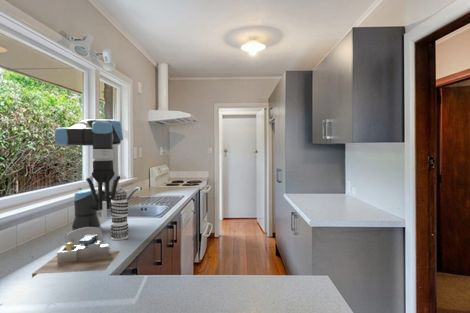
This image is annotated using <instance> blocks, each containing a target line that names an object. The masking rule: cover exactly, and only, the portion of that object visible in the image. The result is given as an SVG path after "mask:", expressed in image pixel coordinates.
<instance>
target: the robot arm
mask: <svg viewBox="0 0 470 313" xmlns="http://www.w3.org/2000/svg"><path fill="white" fill-rule="evenodd" d="M53 137H54V143H55V145H57V146H64V147H66V146H67V147H68V146H70V147H71V146H73V147H75V146H77V147H78V146H85V147H86V146H90V147H91V146H92V160H93V161H92V172H91V175H90V176H87V177H86V178H85V181H86V182H87V183H88V187H89V188H88V189H82V190H78V191H77V192H75V193H74V196H73V197H74V199H73V202H74V205H73V206H74V219H73V222H72V224H71V232H72V231H74V230H76V229H80V228H85V227H98V228H100V229H102V228H101V227H102V226H101V222H100V219H99V217H98V211H99V212H101V218H102V219H107V218H108V211H110V210H111V209H110V207H111V206H110V202H111V200H112V199H114V196H115V192H116V191H117V190H124V188H122V186H121V184H120V179H121V176H120V175H119V170H120V169H119V145H121V144H122V143H121V141H124V135H123V128H122V122H121V121H120V120H117V119H104V118H103V119H102V118H101V119H99V118H96V119H93V118H92V119H91V118H90V119H84V120H80V121H76V122H75V123H73V124H72V125H71V126H70V127H64V126H63V127H57V128H55V130H54V136H53ZM94 180H95V181H96V182H97V188H96V187H95V186H94V182H93V181H94Z"/></svg>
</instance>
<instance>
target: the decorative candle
mask: <svg viewBox="0 0 470 313" xmlns="http://www.w3.org/2000/svg"><path fill="white" fill-rule="evenodd" d="M127 194H128V192H126V190H124V189H123V190H117V191H116V192H115V196H114V199H112V200H111V202H110V206H111V207H110V209H111V210H109V212H110V218H111V221H110V222H111V225H110V227H111V229H110V230H111V231H110V234H111V235H110V237H111V238H110V239H111V240H113V241H122V240H126V239H127V238H129V223H128V215H129V214H128V213H129V212H128V211H129V208H128V207H129V205H128V204H129V202H128V198H127V197H128V196H127Z"/></svg>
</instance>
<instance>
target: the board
mask: <svg viewBox="0 0 470 313" xmlns="http://www.w3.org/2000/svg"><path fill="white" fill-rule="evenodd" d="M120 252H121V250H110V255H109V256H108V257H99V258H91V259H88V258H87V259H78V260H77V261H73V262H63V263H57V255H56V256H54V257H52V258H51V259H49V261H47V262H46V263H45V264H43V265H42V266H41V267H39V268H38V269H36V270H35V271H34V272H32V273H31V278H33V277H36V276H37V275H39V274H54V273H55V274H56V273H73V272H94V271H95V272H96V271H106V270H107V268H108V267H109V266H110V265H111V264H112V262H113V261H115V260H114V259H115V258H116V257H117V256H118V255H119V254H120Z"/></svg>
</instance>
